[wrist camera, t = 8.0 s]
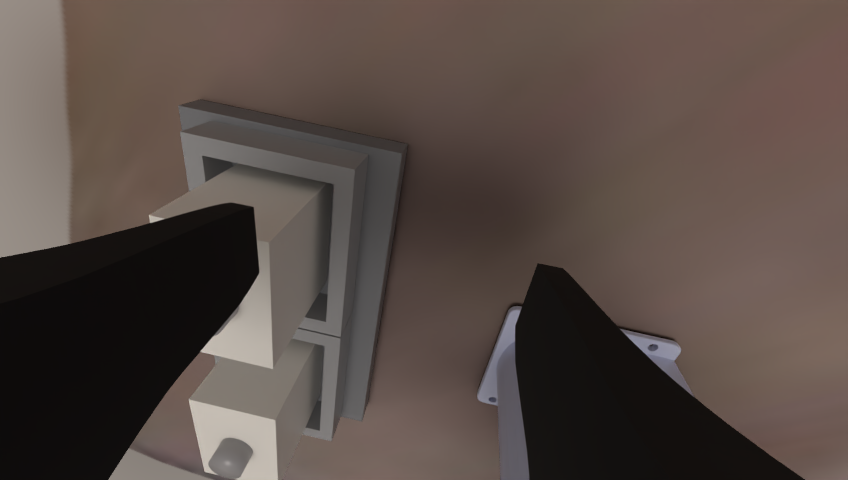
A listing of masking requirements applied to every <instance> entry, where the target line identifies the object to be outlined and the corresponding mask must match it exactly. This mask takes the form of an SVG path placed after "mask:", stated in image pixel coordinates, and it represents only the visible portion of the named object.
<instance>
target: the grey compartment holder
mask: <svg viewBox="0 0 848 480" xmlns="http://www.w3.org/2000/svg"><path fill="white" fill-rule="evenodd" d="M178 107H179V113H180V120H181V127H182V131H181V132H180V134H181V141H182V147H183V154H184V160H185V167H186V173H187V180H188V186H189V192H190V191H191V190H193V189H195V188H196V187H198V186H200V185H202V184H203V183H205V182H207V181H209V180H210V179H212V178H214V177H216V176H217V175H219V174H221V173H222V172H224V171H226V170H228V169H229V168H231V167H233V166H235V165H236V164H238V163H239V164H244V165H248V166H253V167H257V168H262V169H266V170H271V171H276V172H280V173H285V174H289V175H294V176H298V177H303V178H308V179H312V180H317V181H321V182H326V183H331V184H332V198H331V214H330V230H329V246H328V262H327V278H326V283H325V284H324V286H323V287H322V289H321V291H320V292H319V294H318V296H317V297H316V299H315V301H314V302H313V304H312V306H311V307H310V309H309V311H308V312H307V314H306V316H305V317H304V319H303V321H302V322H301V324H300V325H299V327H298V329H297V330H296V332H295V334H294V335H293V337H292V339H291V340H290V342H289V344H288V345H287V347H286V349H285V350H284V352H283V354H282V355H281V357H280V359H279V360H278V362H277V363H276V365H275V367H274V368H273V369H271V368H266V367H262V366H258V365H254V364H250V363H245V362H241V361H237V360H233V359H229V358H224V357H220V356H216V355H214V356H215V363H216V365H215V366H214V368H213V369H212V370H211V372H210V373H209V374H208V375H207V377H206V378H205V379H204V381H203V382H202V383H201V384H200V386H199V387H198V388H197V390H196V391H195V392H194V393H193V395H192V396H191V397H190V398H189V403H190V408H191V412H192V417H193V421H194V426H195V430H196V435H197V439H198V444H199V448H200V453H201V457H202V462H203V466H204V471H205V472H208V473H212V474H216V475H219V476H222V477H225V478H229V479H237V480H283V478H284V475H285V473H286V471H287V468H288V466H289V464H290V462H291V459H292V457H293V455H294V453H295V450H296V448H297V446H298V443H299V441H300V439H301V437H302V434H303V435H307V436H312V437H316V438H320V439H324V440H328V441H332V439H333V436H334V433H335V431H336V428H337V425H338V422H339V420H340V417H345V418H350V419H354V420H358V421H362V420H363V417H364V414H365V410H366V407H367V404H368V398H369V392H370V385H371V379H372V373H373V366H374V360H375V353H376V347H377V340H378V334H379V327H380V321H381V315H382V308H383V302H384V295H385V289H386V282H387V276H388V270H389V263H390V257H391V250H392V244H393V237H394V231H395V225H396V218H397V212H398V205H399V199H400V192H401V186H402V180H403V173H404V167H405V160H406V154H407V147H408V144H405V143H401V142H396V141H391V140H387V139H382V138H377V137H373V136H368V135H363V134H359V133H354V132H349V131H345V130H340V129H335V128H331V127H326V126H322V125H317V124H312V123H308V122H303V121H298V120H294V119H289V118H284V117H280V116H275V115H270V114H266V113H261V112H256V111H252V110H247V109H242V108H238V107H233V106H228V105H224V104H219V103H214V102H210V101H205V100H197V101H193V102H189V103H186V104H182V105H178Z"/></svg>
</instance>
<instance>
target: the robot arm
mask: <svg viewBox="0 0 848 480" xmlns="http://www.w3.org/2000/svg"><path fill="white" fill-rule="evenodd" d="M259 273H260V272H259V261H258V249H257V237H256V226H255V214H254V207H252V206H247V205H242V204H237V203H232V202H230V203H224V204H218V205H214V206H210V207H206V208H202V209H198V210H195V211H191V212H188V213H184V214H181V215H177V216H174V217H170V218H167V219H163V220H160V221H156V222H153V223H149V224H146V225H142V226H138V227H135V228H131V229H127V230H123V231H119V232H115V233H112V234H108V235H104V236H100V237H96V238H92V239H88V240H84V241H80V242H76V243H72V244H68V245H63V246H58V247H53V248H49V249H44V250H38V251H33V252H28V253H23V254H18V255H13V256H7V257H1V258H0V480H108V479H109V477H110V476H111V474H112V473H113V471H114V470H115V468H116V467H117V465H118V464H119V462H120V460H121V459H122V457H123V456H124V454H125V453H126V451H127V450H128V448H129V447H130V445H131V444H132V442H133V441H134V439H135V438H136V436H137V435H138V433H139V431H140V430H141V429H142V427H143V426H144V424H145V423H146V421H147V420H148V418H149V417H150V416H151V414H152V413H153V411H154V410H155V408H156V407H157V406H158V404H159V403H160V401H161V400H162V398H163V397H164V395H165V394H166V393H167V391H168V390H169V389H170V387H171V386H172V385H173V384H174V382H175V381H176V380H177V379H178V377H179V376H180V375H181V374H182V372H183V371H184V370H185V369H186V368H187V366H188V365H189V364H190V363H191V362H192V361H193V359H194V358H195V357H196V356H197V355H198V354H199V352H200V351H201V350H202V349H203V348H204V347H205V345H206V344H207V343H208V342H209V341H210V340H211V338H212V337H213V336H214V335H215V334H216V333H217V331H218V330H219V329H220V328H221V327H222V325H223V324H224V323H225V322H226V321H227V319H228V318H229V317H230V316H231V315H232V313H233V312H234V311H235V310H236V309H237V307H238V306H239V305H240V304H241V302H242V300H243V299H244V297H245V296H246V294H247V293H248V291H249V290H250V288H251V286H252V285H253V283H254V281H255V280H256V278H257V276H258V275H259ZM652 344H654V345H652ZM649 345H652V346H649ZM680 352H681V348H680V346H679V345H678V343H677V342H675V341H672V340H668V339H663V338H659V337H654V336H650V335H645V334H641V333H637V332H632V331H628V330H623V329H619V328H618V326H617V325H616V324H615V323H614V322H613V321H612V320H611V319H610V318H609V317H608V316H607V315H606V314H605V313H604V312H603V311H602V310H601V308H600V307H599V306H598V305H597V304H596V303H595V302H594V301H593V300H592V299H591V298H590V296H589V295H588V294H587V293H586V292H585V291H584V290H583V289H582V288H581V287H580V285H579V284H578V283H577V282H576V281H575V280H574V279H573V278H572V277H571V276H570V275H569V274H568V273H567V272H566V271H565V270H564V269H563V268H558V267H553V266H548V265H543V264H537V267H536V270H535V273H534V275H533V278H532V281H531V284H530V286H529V289H528V292H527V295H526V297H525V300H524V303H523V306H522V307H521V306H514V307H511V308H510V309H509V310H508V312H507V315H506V318H505V320H504V323H503V326H502V328H501V331H500V334H499V336H498V339H497V341H496V344H495V347H494V349H493V352H492V355H491V357H490V360H489V363H488V365H487V368H486V371H485V373H484V376H483V378H482V381H481V384H480V386H479V389H478V392H477V398H478V400H479V401H481V402H483V403H488V404H492V405H496V406H498V429H499V456H500V480H805V479H803V478H802V477H800V476H799V475H798V474H796V473H795V472H793V471H792V470H790V469H789V468H787V467H786V466H785V465H783V464H782V463H780V462H779V461H777V460H776V459H775V458H773V457H772V456H770V455H769V454H768V453H766V452H765V451H764V450H762V449H761V448H759V447H758V446H757V445H755V444H754V443H753V442H751V441H750V440H749V439H747V438H746V437H745V436H743V435H742V434H741V433H739V432H738V431H737V430H735V429H734V428H732V427H731V426H730V425H728V424H727V423H726V422H725V421H723V420H722V419H721V418H719V417H718V416H717V415H716V414H714V413H713V412H712V411H710V410H709V409H708V408H707V407H705V406H704V405H703V404H702V403H701V402H699V401H698V400H697V399H696V398H695V397H694V395H693V393H692V392H691V390H690V388H689V386H688V385H687V383H686V381H685V379H684V377H683V376H682V374H681V372H680V370H679V369H678V367H677V365H676V363H675V362H674V361H675V359H676V358H677V357H678V355H679V354H680Z"/></svg>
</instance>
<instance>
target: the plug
mask: <svg viewBox="0 0 848 480" xmlns="http://www.w3.org/2000/svg"><path fill="white" fill-rule="evenodd" d="M331 198H332V184H331V183H326V182H321V181H317V180H312V179H308V178H303V177H298V176H294V175H289V174H285V173H280V172H276V171H271V170H266V169H262V168H257V167H253V166H248V165H244V164H239V163H238V164H236V165H235V166H233V167H231V168H229V169H228V170H226V171H224V172H222V173H221V174H219V175H217V176H216V177H214V178H212V179H210V180H209V181H207V182H205V183H203V184H202V185H200V186H198V187H196V188H195V189H193V190H191V191H190V192H188V193H186V194H184V195H183V196H181V197H179V198H177V199H176V200H174V201H172V202H170V203H169V204H167V205H165V206H164V207H162V208H160V209H158V210H157V211H155V212H153V213H151V214H150V215H149V218H150V223H153V222H156V221H160V220H163V219H167V218H170V217H174V216H177V215H181V214H184V213H188V212H191V211H195V210H198V209H202V208H206V207H210V206H214V205H218V204H224V203H230V202H232V203H237V204H242V205H247V206H252V207H254V214H255V226H256V237H257V249H258V261H259V272H260V273H259V275H258V276H257V278H256V280H255V281H254V283H253V285H252V286H251V288H250V290H249V291H248V293H247V294H246V296H245V297H244V299H243V300H242V302H241V304H240V305H239V306H238V307H237V309H236V310H235V311H234V312H233V313H232V315H231V316H230V317H229V318H228V319H227V321H226V322H225V323H224V324H223V325H222V327H221V328H220V329H219V330H218V331H217V333H216V334H215V335H214V336H213V337H212V338H211V340H210V341H209V342H208V343H207V344H206V345H205V347H204V348H203V349H202V350H201V351H200V352H203V353H208V354H212V355H216V356H220V357H224V358H229V359H233V360H237V361H241V362H245V363H250V364H254V365H258V366H262V367H266V368H271V369H273V368H274V367H275V365H276V363H277V362H278V360H279V359H280V357H281V355H282V354H283V352H284V350H285V349H286V347H287V345H288V344H289V342H290V340H291V339H292V337H293V335H294V334H295V332H296V330H297V329H298V327H299V325H300V324H301V322H302V321H303V319H304V317H305V316H306V314H307V312H308V311H309V309H310V307H311V306H312V304H313V302H314V301H315V299H316V297H317V296H318V294H319V292H320V291H321V289H322V287H323V286H324V284H325V283H326V278H327V262H328V246H329V230H330V214H331Z"/></svg>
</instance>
